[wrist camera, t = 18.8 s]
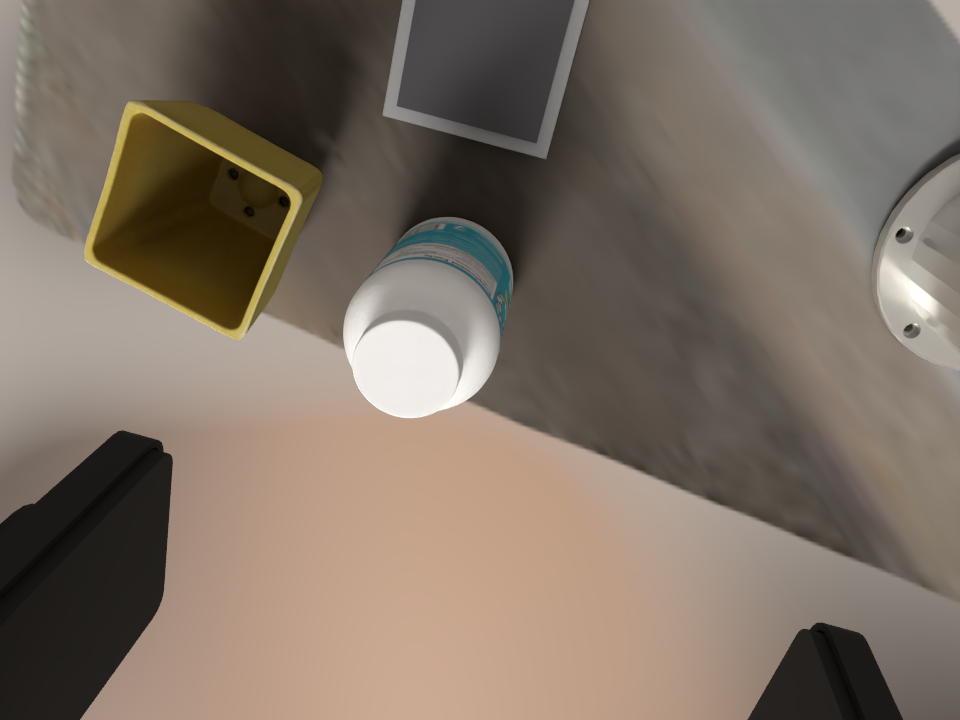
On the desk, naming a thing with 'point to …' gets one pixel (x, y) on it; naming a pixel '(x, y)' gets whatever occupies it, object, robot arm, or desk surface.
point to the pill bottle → (430, 318)
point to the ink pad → (485, 68)
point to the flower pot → (199, 212)
